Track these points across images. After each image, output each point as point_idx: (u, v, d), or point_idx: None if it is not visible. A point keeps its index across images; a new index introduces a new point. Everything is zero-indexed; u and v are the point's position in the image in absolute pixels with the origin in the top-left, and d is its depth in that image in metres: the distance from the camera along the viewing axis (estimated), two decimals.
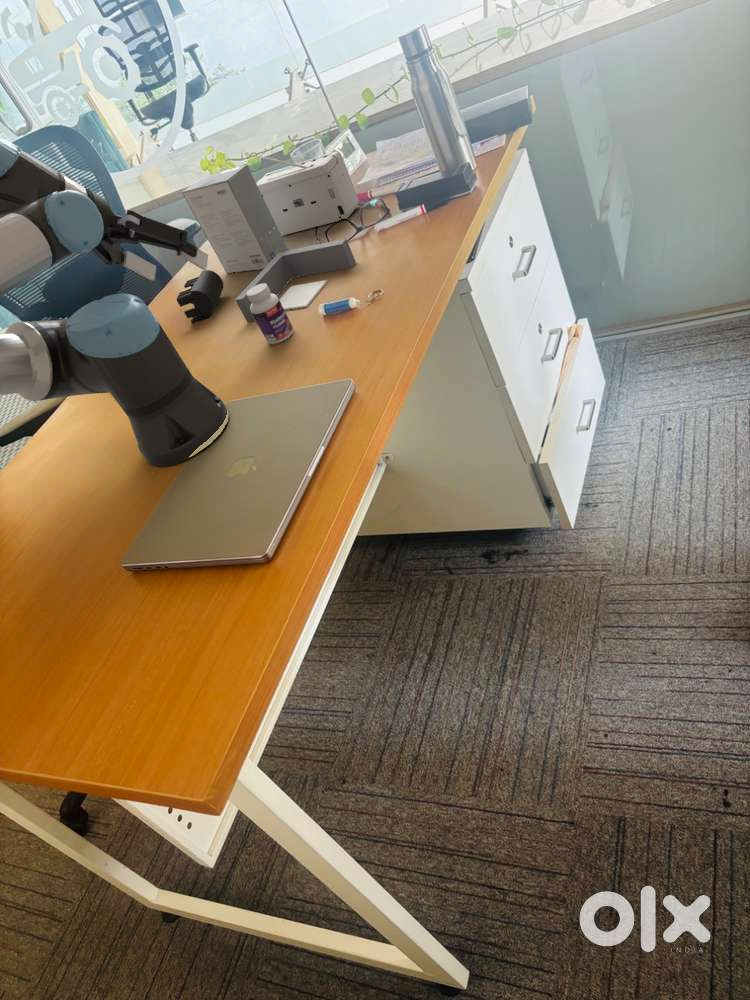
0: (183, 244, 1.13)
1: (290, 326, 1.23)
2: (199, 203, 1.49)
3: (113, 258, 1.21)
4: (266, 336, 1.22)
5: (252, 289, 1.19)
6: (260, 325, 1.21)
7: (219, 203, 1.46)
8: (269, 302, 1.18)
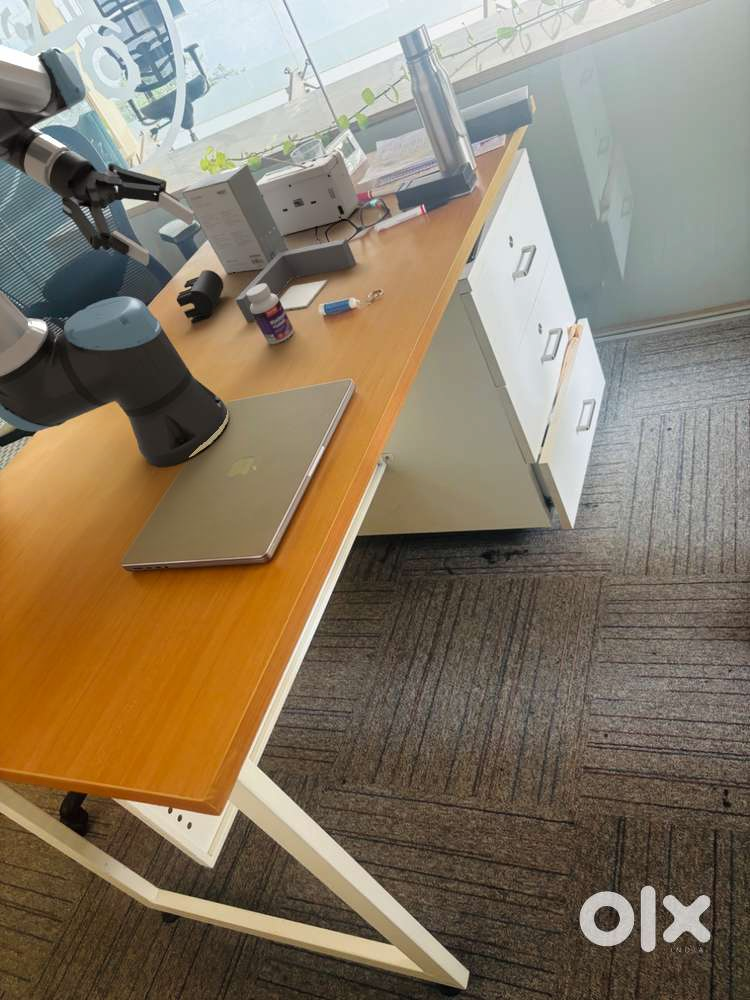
0: (163, 180, 1.22)
1: (290, 326, 1.23)
2: (199, 203, 1.49)
3: (101, 223, 1.13)
4: (266, 336, 1.22)
5: (252, 289, 1.19)
6: (260, 325, 1.21)
7: (219, 203, 1.46)
8: (269, 302, 1.18)
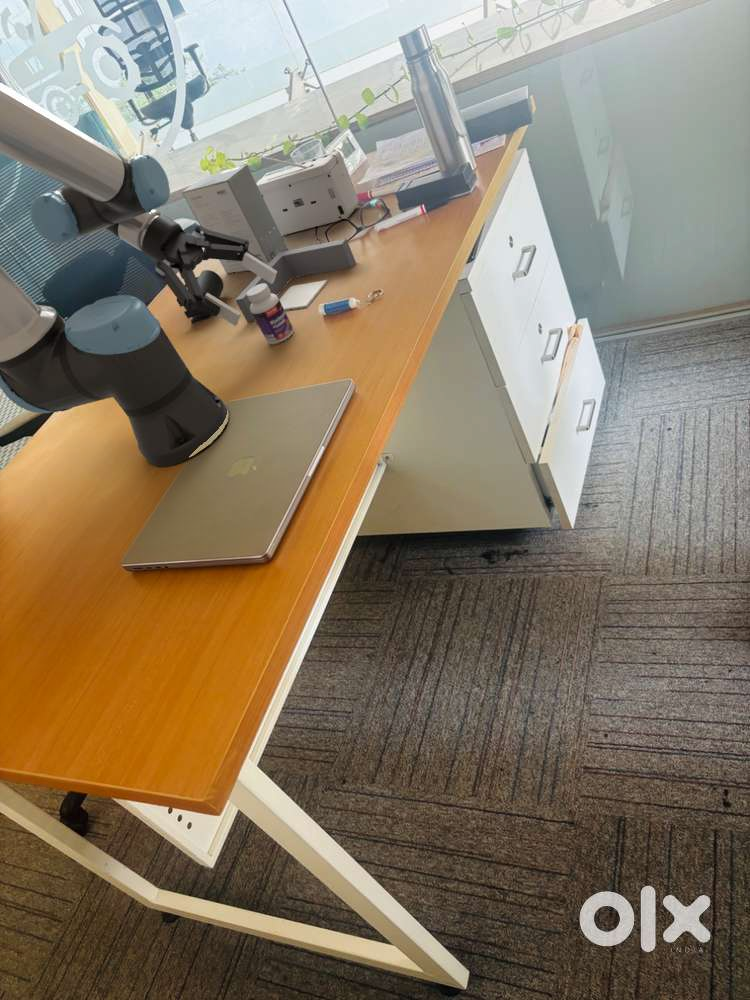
0: (246, 240, 1.27)
1: (290, 326, 1.23)
2: (199, 203, 1.49)
3: (194, 286, 1.17)
4: (266, 336, 1.22)
5: (252, 289, 1.19)
6: (260, 325, 1.21)
7: (219, 203, 1.46)
8: (269, 302, 1.18)
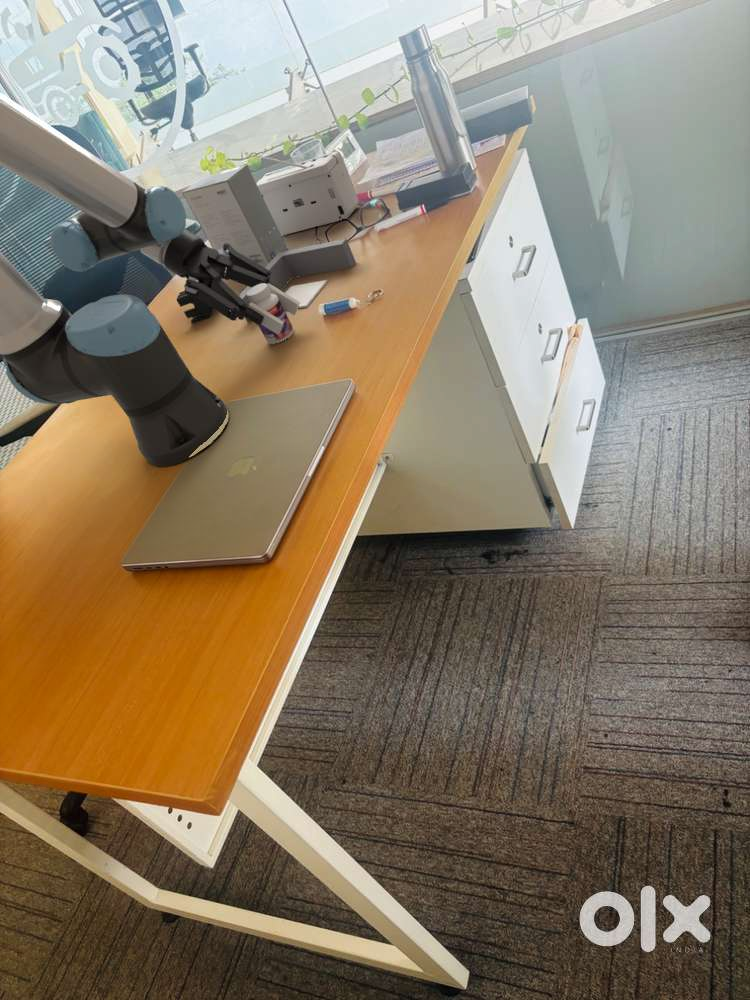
0: (269, 271, 1.23)
1: (290, 326, 1.23)
2: (199, 203, 1.49)
3: (234, 297, 1.17)
4: (266, 336, 1.22)
5: (252, 289, 1.19)
6: (260, 325, 1.21)
7: (218, 203, 1.46)
8: (269, 302, 1.18)
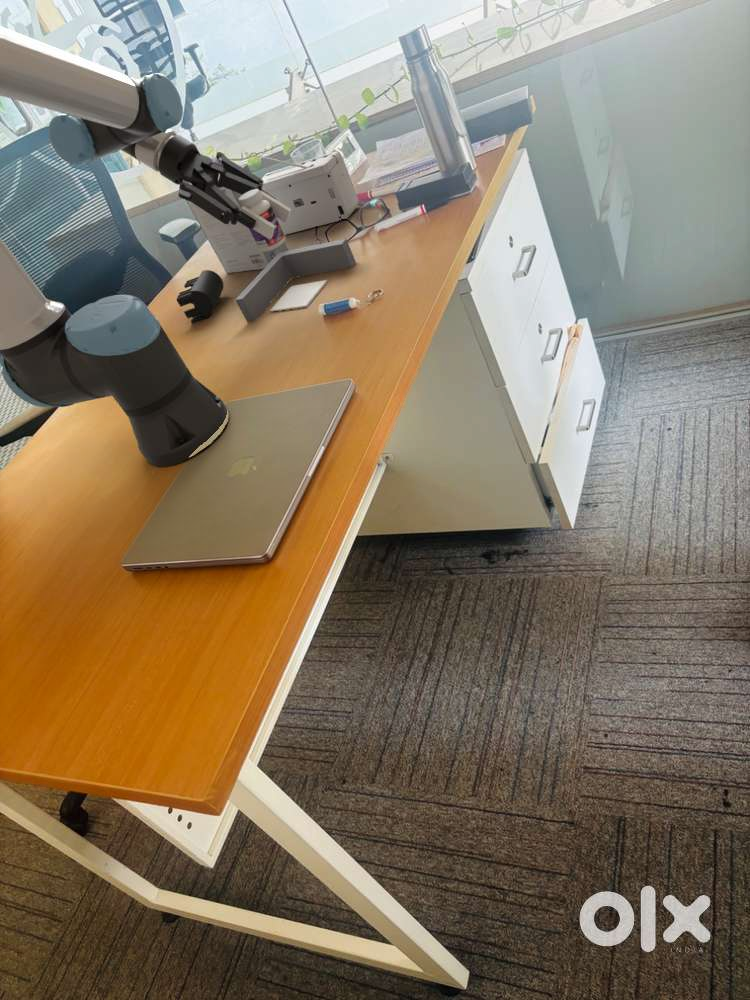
0: (261, 180, 1.26)
1: (282, 233, 1.26)
2: None
3: (226, 200, 1.20)
4: (258, 243, 1.26)
5: (244, 194, 1.22)
6: (252, 231, 1.24)
7: None
8: (261, 207, 1.22)
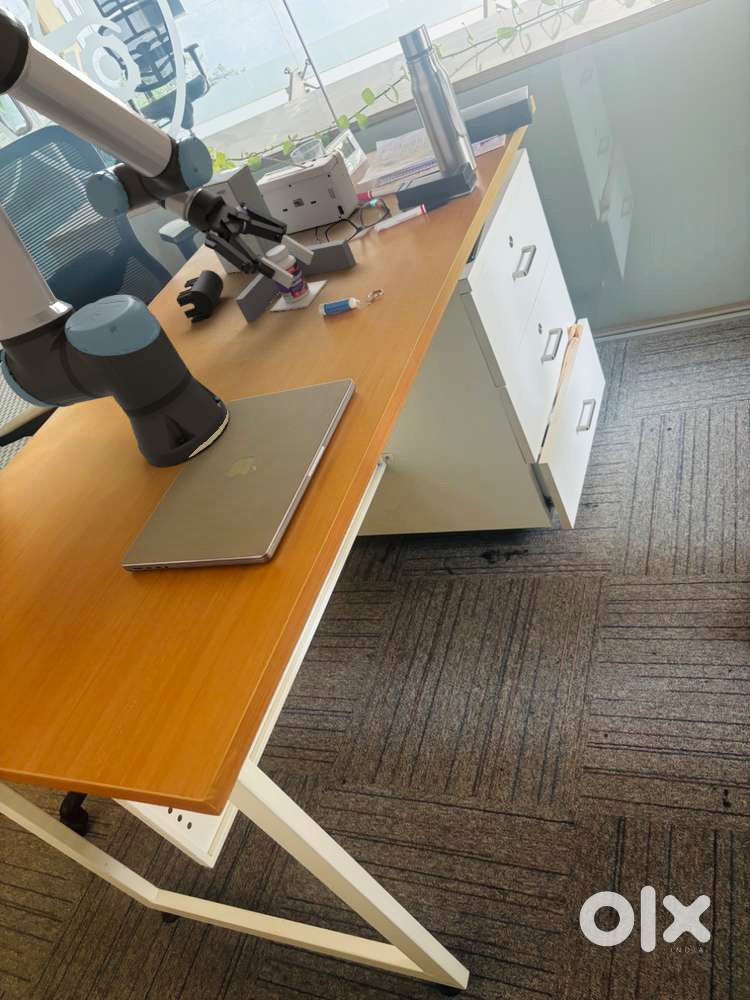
0: (285, 224, 1.33)
1: (306, 285, 1.33)
2: None
3: (248, 251, 1.26)
4: (284, 295, 1.32)
5: (271, 250, 1.29)
6: (278, 284, 1.31)
7: None
8: (287, 262, 1.28)
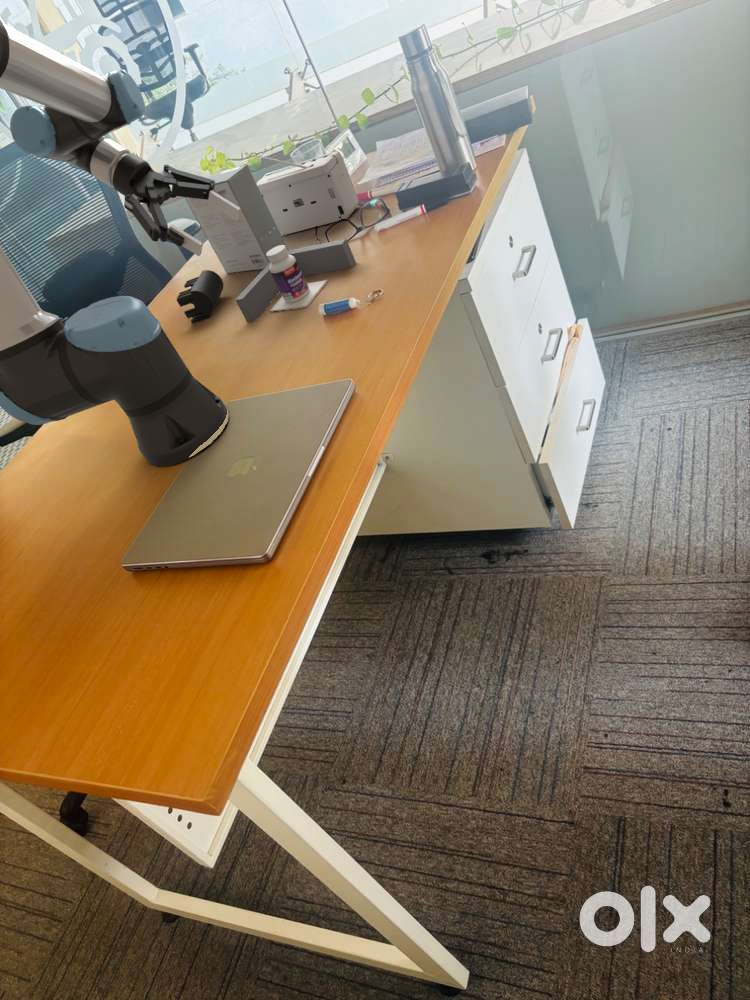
0: (212, 180, 1.35)
1: (306, 285, 1.33)
2: (199, 203, 1.49)
3: (159, 217, 1.25)
4: (284, 294, 1.32)
5: (271, 250, 1.29)
6: (278, 284, 1.31)
7: None
8: (287, 262, 1.28)
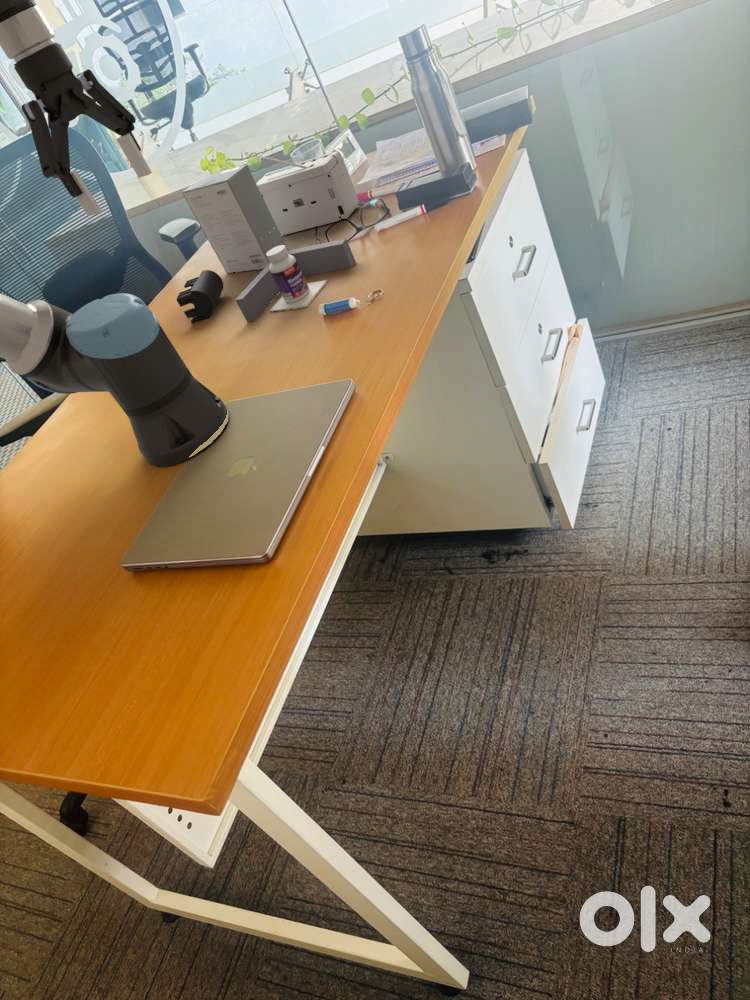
0: (133, 116, 1.13)
1: (306, 285, 1.33)
2: (198, 203, 1.49)
3: (64, 154, 1.02)
4: (284, 294, 1.32)
5: (271, 250, 1.29)
6: (278, 284, 1.31)
7: (218, 203, 1.46)
8: (287, 262, 1.28)
